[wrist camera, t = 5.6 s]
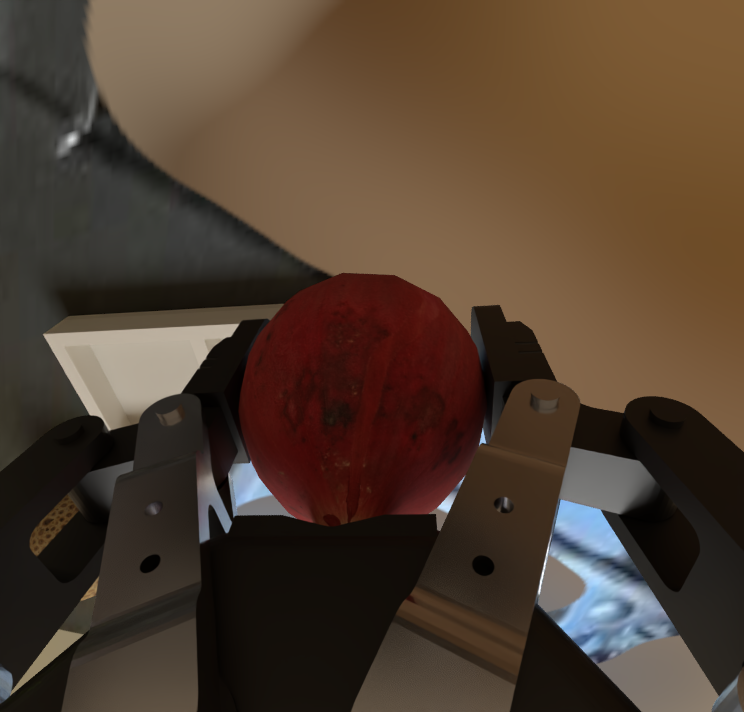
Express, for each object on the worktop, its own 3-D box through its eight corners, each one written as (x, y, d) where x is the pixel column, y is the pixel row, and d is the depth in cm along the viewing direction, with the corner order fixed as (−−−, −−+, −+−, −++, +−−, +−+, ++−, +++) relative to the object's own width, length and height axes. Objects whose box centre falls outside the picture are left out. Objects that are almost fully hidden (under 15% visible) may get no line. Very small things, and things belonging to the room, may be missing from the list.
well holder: (68, 316, 31) (43, 334, 29) (357, 299, 29) (353, 317, 27) (129, 430, 37) (112, 452, 35) (373, 424, 35) (371, 447, 32)
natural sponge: (73, 507, 44) (-6, 609, 35) (62, 446, 39) (-33, 548, 30) (164, 527, 44) (107, 632, 36) (164, 470, 39) (98, 576, 31)
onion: (271, 230, 12) (109, 421, 6) (477, 232, 12) (568, 438, 5) (294, 392, 15) (208, 636, 9) (457, 397, 15) (496, 656, 8)
